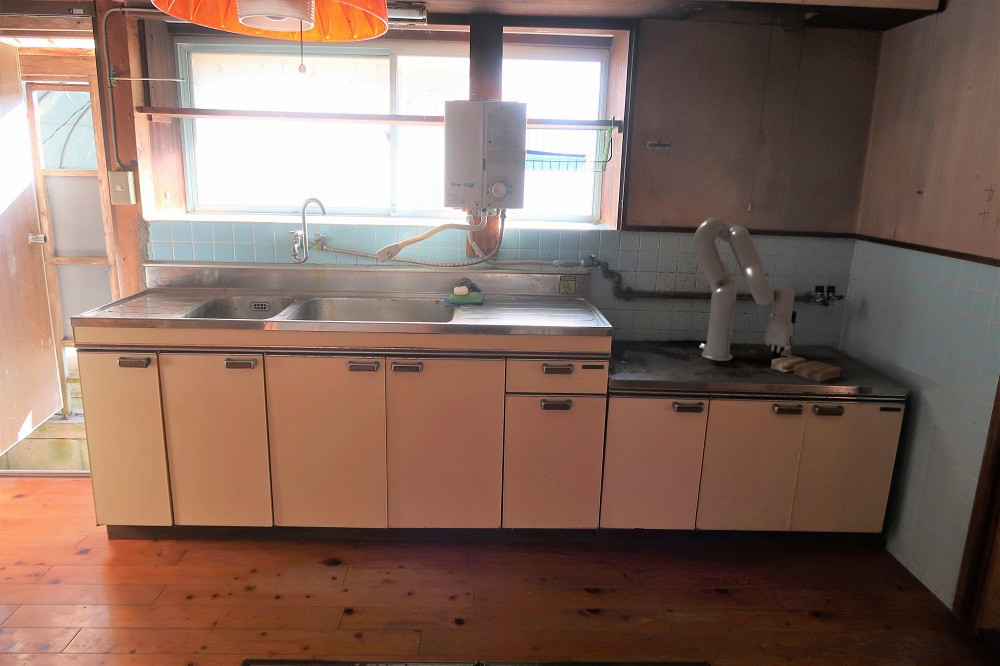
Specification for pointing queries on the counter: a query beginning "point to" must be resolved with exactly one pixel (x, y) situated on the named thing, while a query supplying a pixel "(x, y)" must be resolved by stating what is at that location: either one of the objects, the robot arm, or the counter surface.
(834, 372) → the brown grooved flat slab
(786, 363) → the maple plank
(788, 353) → the spray can
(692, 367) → the counter surface
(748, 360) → the counter surface
